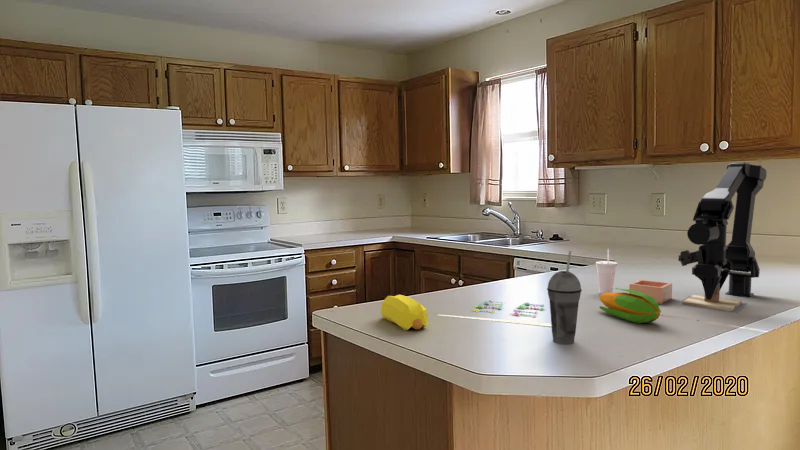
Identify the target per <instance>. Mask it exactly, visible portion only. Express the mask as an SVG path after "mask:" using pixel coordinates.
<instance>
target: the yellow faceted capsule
mask: <svg viewBox="0 0 800 450" xmlns="http://www.w3.org/2000/svg"><path fill="white" fill-rule="evenodd" d="M380 315H381V317H382V318H384V319H385V320H387V321H389V322H390V323H391V322H392V323H394V324H396V325H397V326H399V327H400V328H401V329H403V330H404V331H408V330H409V329H410V328H413V329H414V330H420V329H421V328H422V329H424V328H427V325H428V323H429V317H428V311H427V308H426V307H424V306H423V304H421V303H420V302H418V301H417V300H415V299H413V298H412V297H409V296H406V295H404V294H403V295H402V294H396V295H394V296H393V295H387V296H386V297H385V298H384V299H383V301H382V303H381V309H380Z"/></svg>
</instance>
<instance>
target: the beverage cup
mask: <svg viewBox="0 0 800 450" xmlns="http://www.w3.org/2000/svg"><path fill="white" fill-rule="evenodd" d="M567 256H568V257H567V263H566V270H561V271H557V272H555V273H554V274H553V275H552V276H551V277H550V278H549V281H548V284H547V288H546V290H547V295H548V299H549V309H550V322H551V326H552V327H551V335H552V342H554V343H556V344H560V345H573V344H574V343H575V338H576V332H577V331H576V330H577V322H578V311H579V302H580V299H581V295H582V291H583V290H582V286H581V282H580V279H579V278H578V276H576V274H575V273H572V272H570V271H569V270H570V263H571V256H572V251H571V250H569V251H568V255H567Z"/></svg>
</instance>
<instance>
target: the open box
mask: <svg viewBox="0 0 800 450" xmlns="http://www.w3.org/2000/svg"><path fill="white" fill-rule="evenodd" d="M628 290H634V291H639V292H642V293H644V294H647V295H649V296H651V297H653V298H654V299H655V300H656V302H657V303H658V304H661V305H662V304H663V305H664V303H666V302H668V301H670V300H672V299H673V283H672V282H665V281H663V282H662V281H655V280H648V279H647V280H646V279H638V280H635V281H633V282H632V283H629V289H628ZM628 293H629V294H633V293H630V292H628ZM634 295H636V294H634ZM638 296H639V295H638Z"/></svg>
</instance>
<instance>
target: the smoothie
mask: <svg viewBox="0 0 800 450" xmlns="http://www.w3.org/2000/svg"><path fill="white" fill-rule="evenodd" d="M606 253H607V254H606V255H607V260H599V261H598V260H597V261H596V262H595V266H596V272H597V284H598V292H599V293H600V295H602V294H604V293H605V292H608V293H613V289H614V285H615V284H614V283H615V276H616V270H617V267H618V262H615V261H610V248H607V252H606Z"/></svg>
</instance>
